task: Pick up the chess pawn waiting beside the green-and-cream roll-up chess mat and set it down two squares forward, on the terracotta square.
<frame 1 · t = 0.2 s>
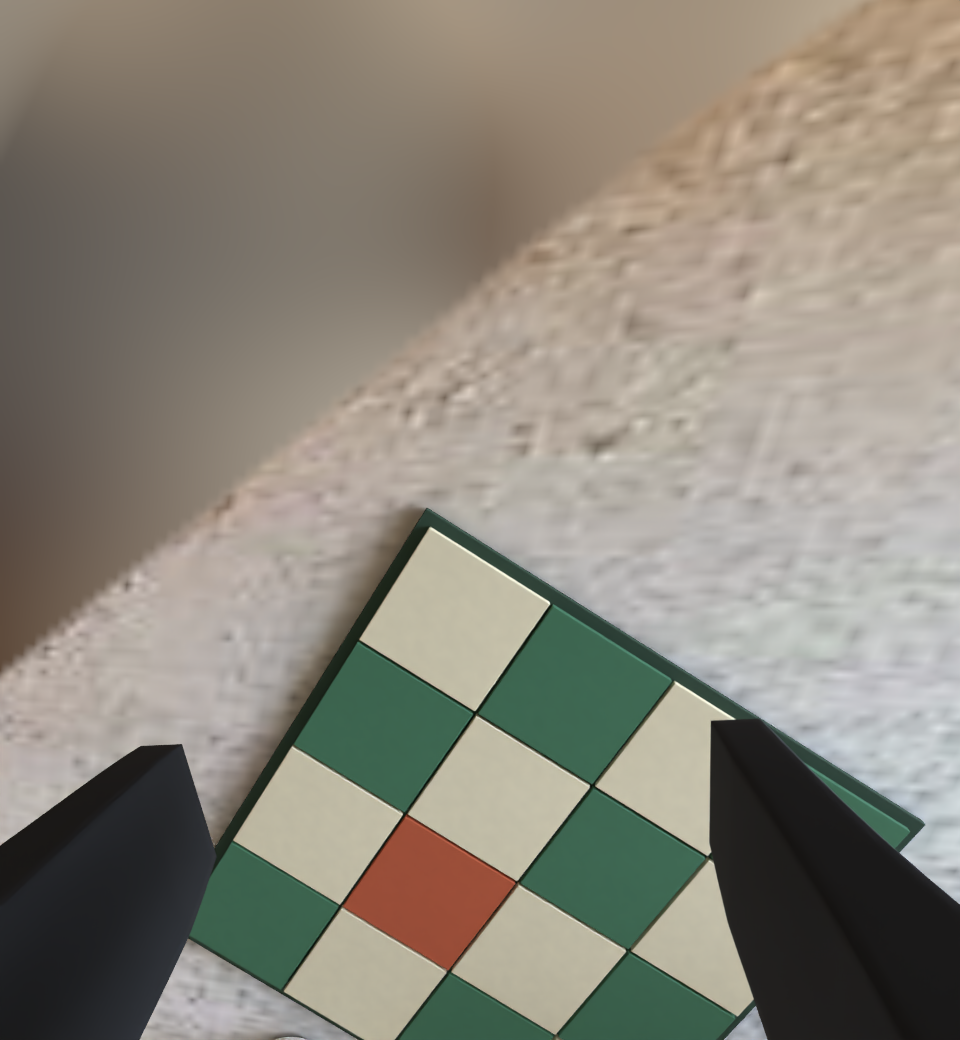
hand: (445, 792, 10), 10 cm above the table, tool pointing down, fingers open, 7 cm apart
chess mat: (518, 874, 22), on the table
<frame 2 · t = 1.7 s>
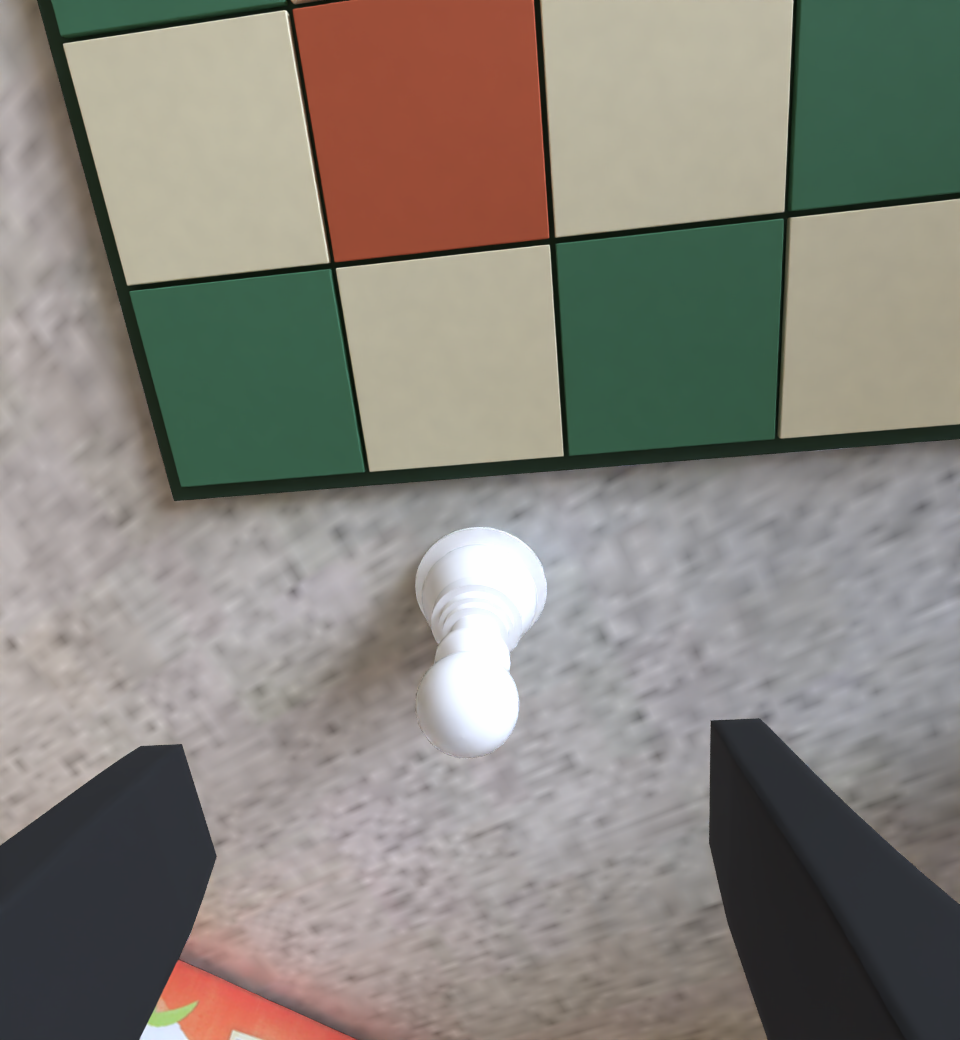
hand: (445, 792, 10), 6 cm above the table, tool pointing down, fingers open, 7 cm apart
chess pawn: (481, 580, 16), on the table
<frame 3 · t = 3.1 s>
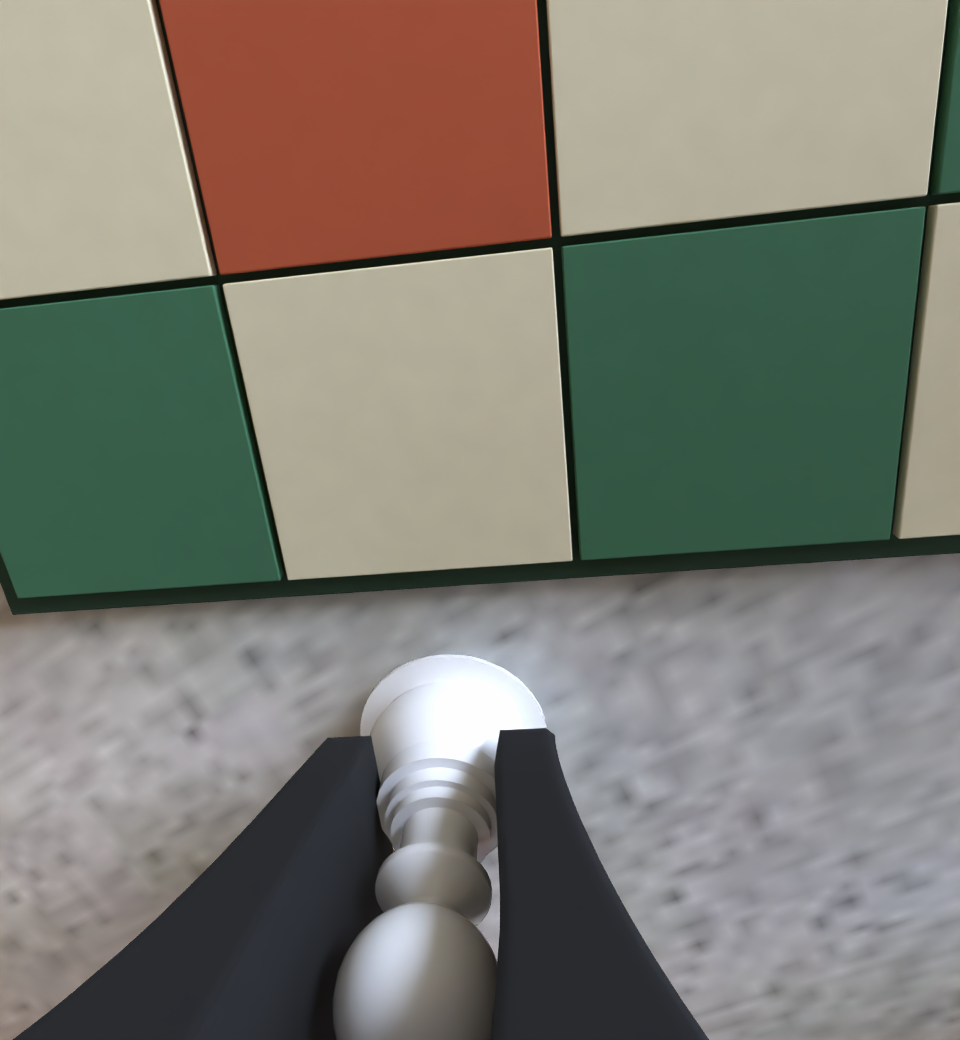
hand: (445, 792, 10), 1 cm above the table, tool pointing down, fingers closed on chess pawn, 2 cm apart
chess pawn: (456, 719, 11), on the table, touching gripper
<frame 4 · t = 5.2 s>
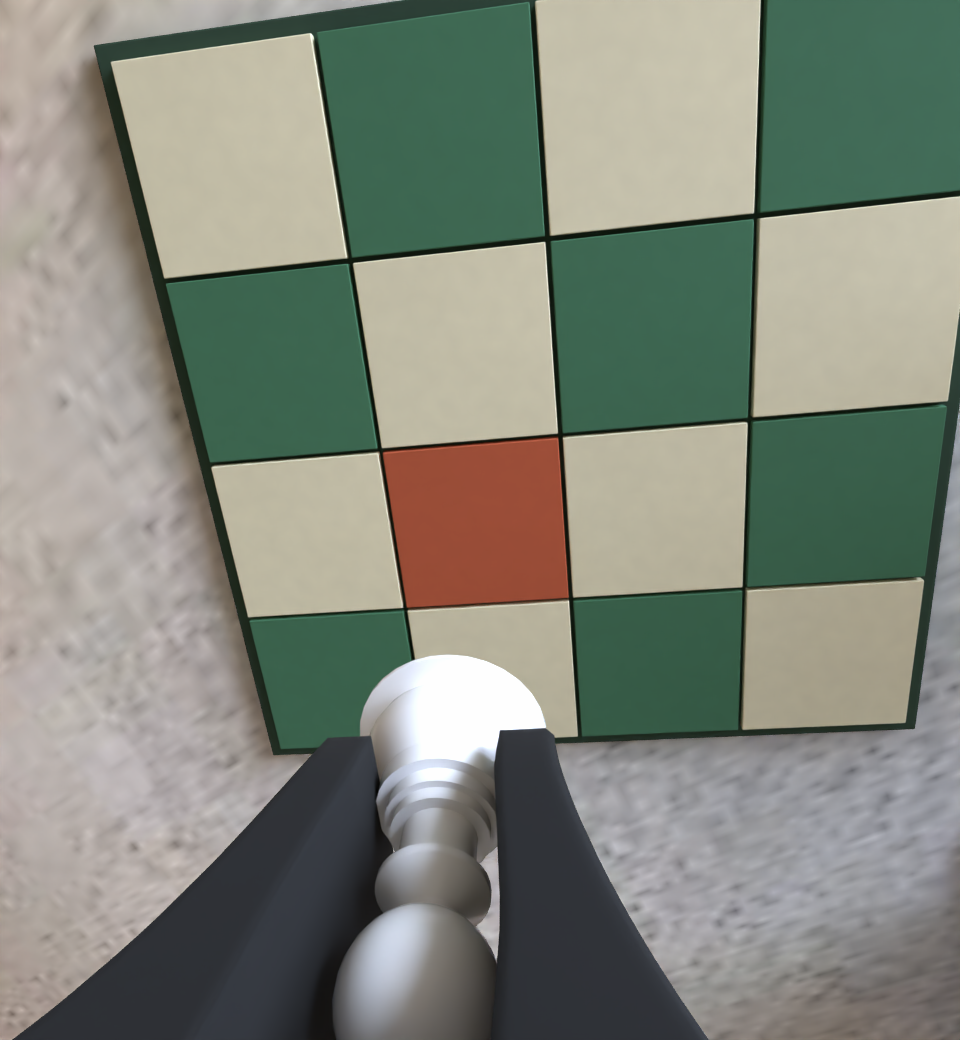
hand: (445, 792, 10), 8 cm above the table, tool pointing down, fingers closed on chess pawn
chess pawn: (455, 719, 11), point 6 cm above the table, touching gripper
chess mat: (559, 431, 16), on the table
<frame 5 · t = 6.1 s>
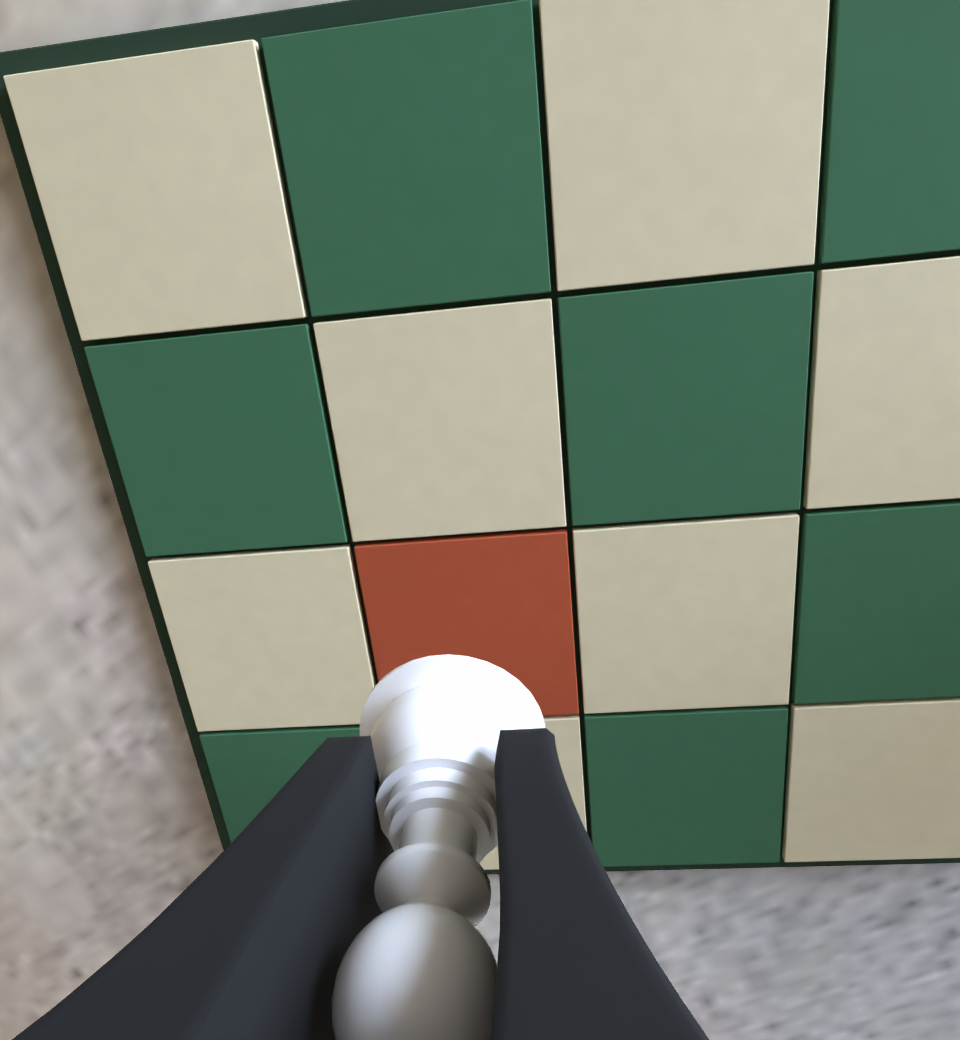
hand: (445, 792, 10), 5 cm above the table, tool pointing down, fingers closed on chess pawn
chess pawn: (455, 719, 11), point 3 cm above the table, touching gripper
chess mat: (568, 521, 13), on the table
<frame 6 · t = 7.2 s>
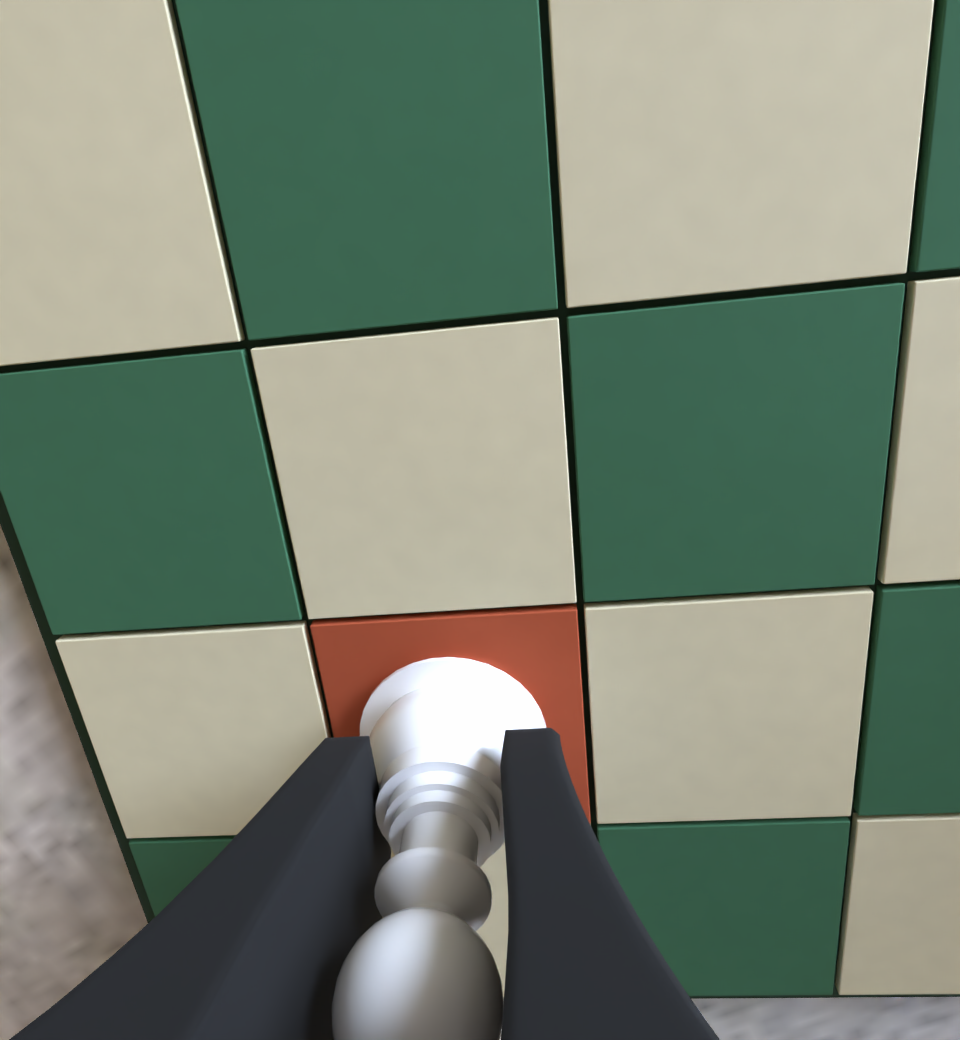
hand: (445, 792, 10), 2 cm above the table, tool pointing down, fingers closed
chess pawn: (455, 722, 11), resting on chess mat
chess mat: (578, 593, 10), on the table
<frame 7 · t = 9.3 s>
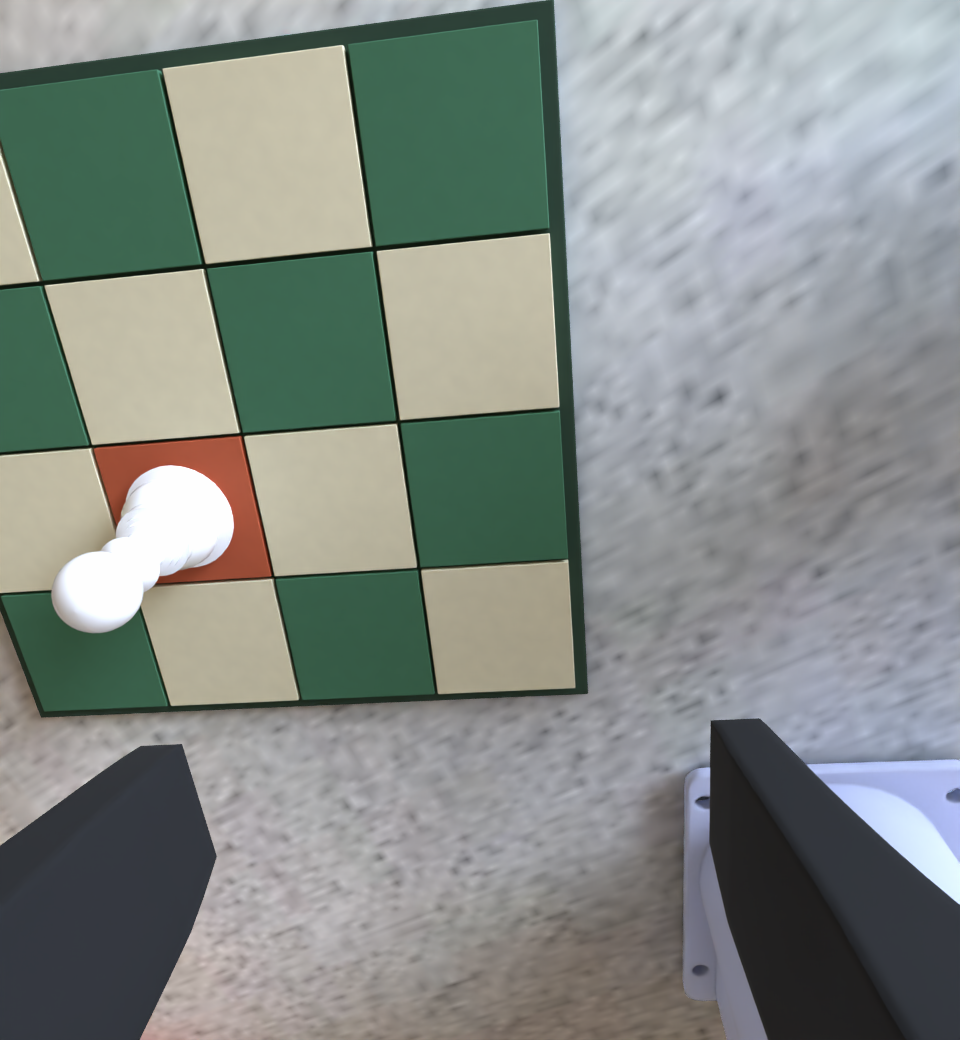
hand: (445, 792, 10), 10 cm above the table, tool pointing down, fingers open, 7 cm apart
chess pawn: (186, 512, 19), resting on chess mat
chess mat: (246, 431, 18), on the table
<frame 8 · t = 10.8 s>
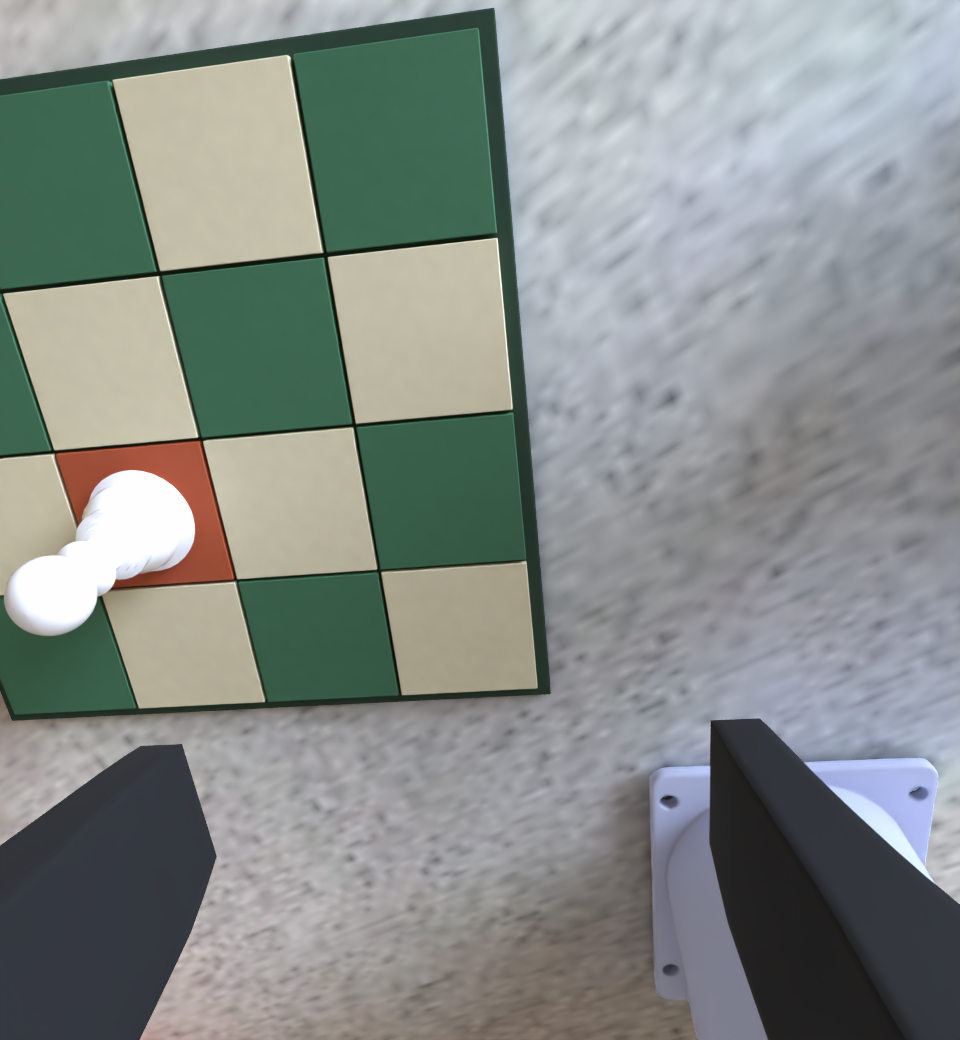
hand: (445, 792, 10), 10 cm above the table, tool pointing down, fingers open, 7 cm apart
chess pawn: (149, 516, 19), resting on chess mat
chess mat: (206, 435, 19), on the table
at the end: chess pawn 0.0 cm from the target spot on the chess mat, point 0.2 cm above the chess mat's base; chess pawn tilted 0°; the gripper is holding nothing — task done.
